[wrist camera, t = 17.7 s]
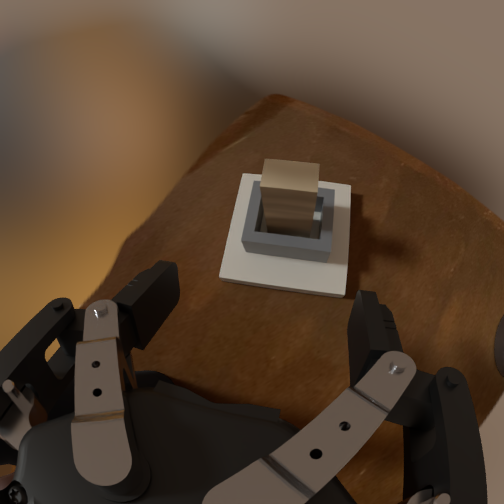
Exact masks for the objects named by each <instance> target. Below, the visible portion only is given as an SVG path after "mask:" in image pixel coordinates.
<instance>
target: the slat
mask: <svg viewBox="0 0 504 504" xmlns="http://www.w3.org/2000/svg"><path fill="white" fill-rule="evenodd" d="M318 179H319V164H315V163H306V162H297V161H286V160H275V159H265V162H264V167H263V172H262V177H261V182H260V191H261V197H262V202H263V208H264V214H265V220H266V226H267V232H268V233H272V234H280V235H288V236H296V237H304V238H310V234H311V228H312V223H313V217H314V211H315V205H316V199H317V193H318Z"/></svg>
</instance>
